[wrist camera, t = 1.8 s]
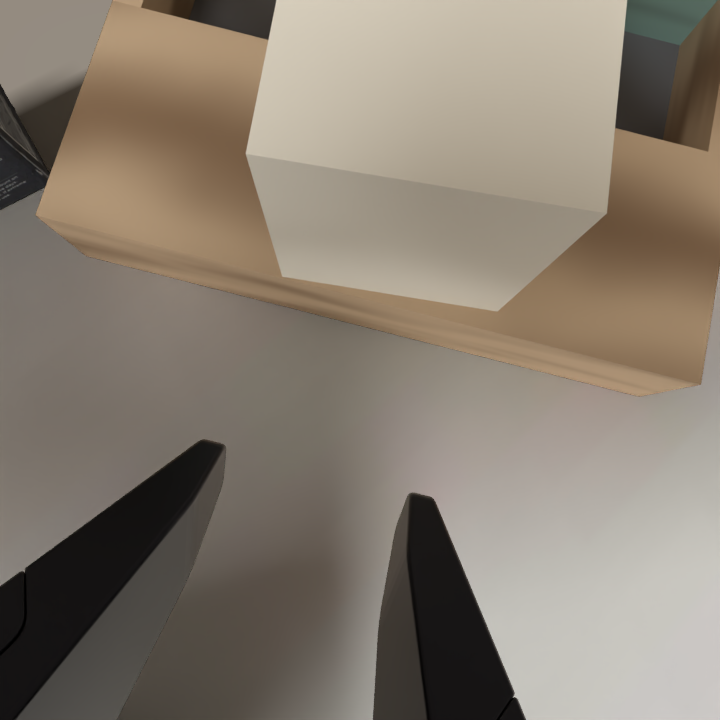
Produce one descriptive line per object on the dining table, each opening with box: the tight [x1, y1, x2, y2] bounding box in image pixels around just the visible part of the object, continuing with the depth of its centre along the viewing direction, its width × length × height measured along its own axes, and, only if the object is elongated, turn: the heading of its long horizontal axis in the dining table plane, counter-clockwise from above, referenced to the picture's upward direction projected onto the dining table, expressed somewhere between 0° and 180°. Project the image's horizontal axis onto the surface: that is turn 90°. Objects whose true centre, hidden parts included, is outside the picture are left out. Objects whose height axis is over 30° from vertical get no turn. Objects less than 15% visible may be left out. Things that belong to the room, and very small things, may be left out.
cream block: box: [246, 0, 627, 311], centre depth 16 cm, size 8×7×8 cm
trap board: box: [36, 0, 720, 397], centre depth 23 cm, size 23×22×4 cm
